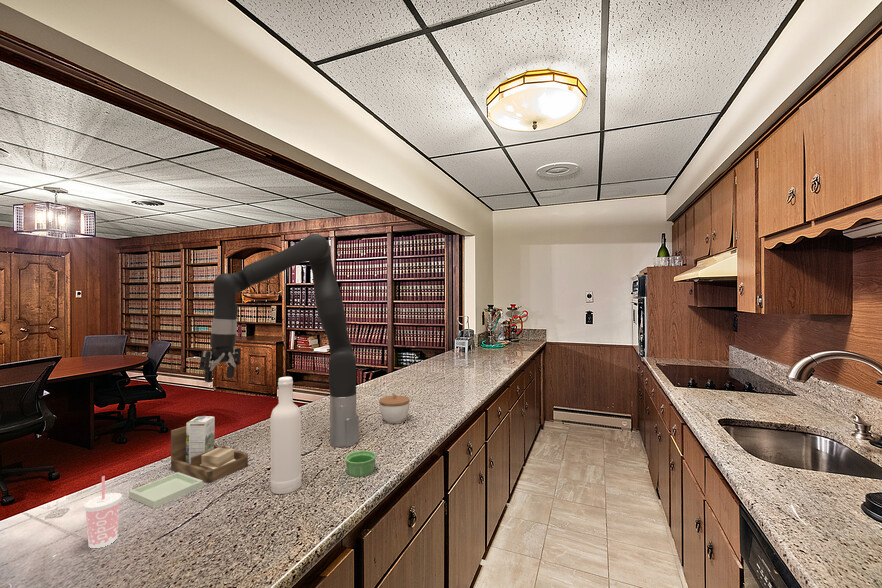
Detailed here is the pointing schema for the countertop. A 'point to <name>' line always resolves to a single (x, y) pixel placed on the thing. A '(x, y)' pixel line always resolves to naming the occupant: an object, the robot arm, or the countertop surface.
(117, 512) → the beverage cup
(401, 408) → the white lidded bowl
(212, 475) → the open box
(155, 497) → the tray
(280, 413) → the bottle
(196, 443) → the syrup box
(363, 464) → the ramekin
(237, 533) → the countertop surface
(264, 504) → the countertop surface
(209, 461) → the offcut top
